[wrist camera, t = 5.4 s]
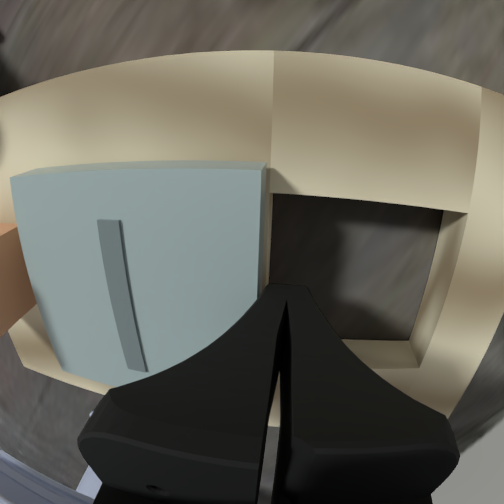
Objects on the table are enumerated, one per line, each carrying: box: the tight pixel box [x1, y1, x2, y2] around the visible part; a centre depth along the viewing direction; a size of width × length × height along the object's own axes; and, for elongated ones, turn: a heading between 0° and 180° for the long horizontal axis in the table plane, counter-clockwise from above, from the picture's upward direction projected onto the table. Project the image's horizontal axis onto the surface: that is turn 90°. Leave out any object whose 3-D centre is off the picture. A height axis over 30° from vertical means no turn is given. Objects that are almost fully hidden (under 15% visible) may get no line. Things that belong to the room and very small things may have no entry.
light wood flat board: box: [0, 51, 504, 427], centre depth 13 cm, size 16×26×2 cm, turn 89°
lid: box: [10, 160, 267, 387], centre depth 11 cm, size 9×9×2 cm
